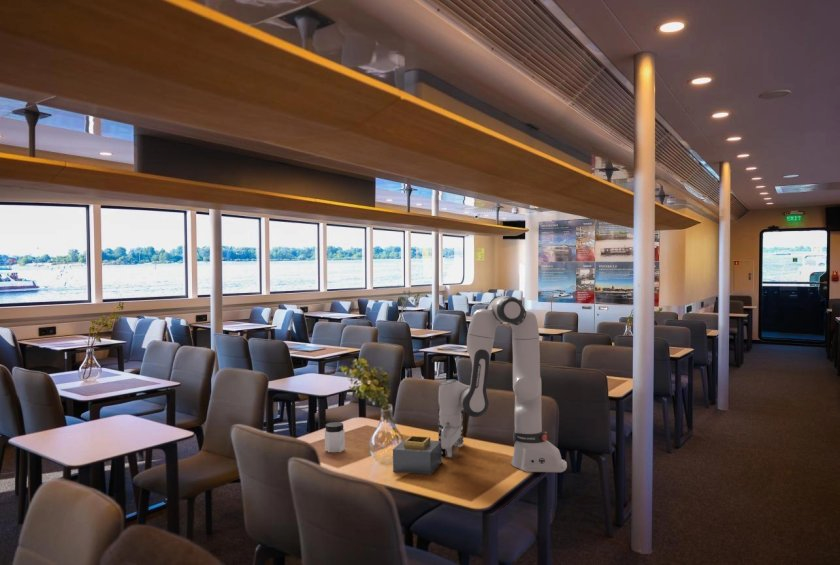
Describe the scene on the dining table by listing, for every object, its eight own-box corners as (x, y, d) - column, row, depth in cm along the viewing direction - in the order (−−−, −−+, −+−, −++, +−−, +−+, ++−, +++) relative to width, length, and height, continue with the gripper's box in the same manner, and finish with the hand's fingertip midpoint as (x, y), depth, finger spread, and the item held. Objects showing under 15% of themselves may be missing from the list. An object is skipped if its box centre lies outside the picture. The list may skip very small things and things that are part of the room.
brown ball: (460, 456, 238) (459, 443, 238) (457, 460, 233) (456, 447, 233) (447, 456, 240) (446, 442, 240) (444, 460, 234) (443, 446, 234)
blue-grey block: (441, 462, 246) (441, 435, 246) (430, 474, 231) (430, 446, 231) (406, 459, 251) (405, 432, 251) (393, 471, 236) (392, 443, 236)
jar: (337, 454, 260) (336, 427, 260) (322, 452, 263) (321, 425, 263) (347, 448, 268) (347, 422, 268) (332, 446, 272) (332, 421, 271)
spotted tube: (456, 457, 252) (455, 411, 251) (437, 456, 253) (436, 411, 253) (458, 451, 260) (458, 407, 260) (440, 451, 261) (439, 407, 261)
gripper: (451, 426, 225) (453, 462, 225) (463, 414, 245) (464, 446, 245) (436, 426, 227) (438, 461, 227) (448, 413, 247) (450, 446, 247)
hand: (452, 453), depth 236 cm, fingers closed on brown ball, 5 cm apart
